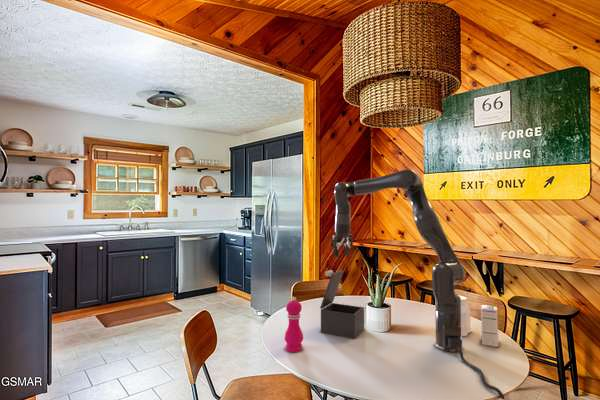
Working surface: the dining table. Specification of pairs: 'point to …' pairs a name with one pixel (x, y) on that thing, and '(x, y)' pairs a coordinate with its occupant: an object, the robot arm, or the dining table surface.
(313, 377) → the dining table surface
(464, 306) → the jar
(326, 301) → the lid
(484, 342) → the syrup box
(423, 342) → the dining table surface
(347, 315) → the dark lidded box
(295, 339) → the pepper mill
